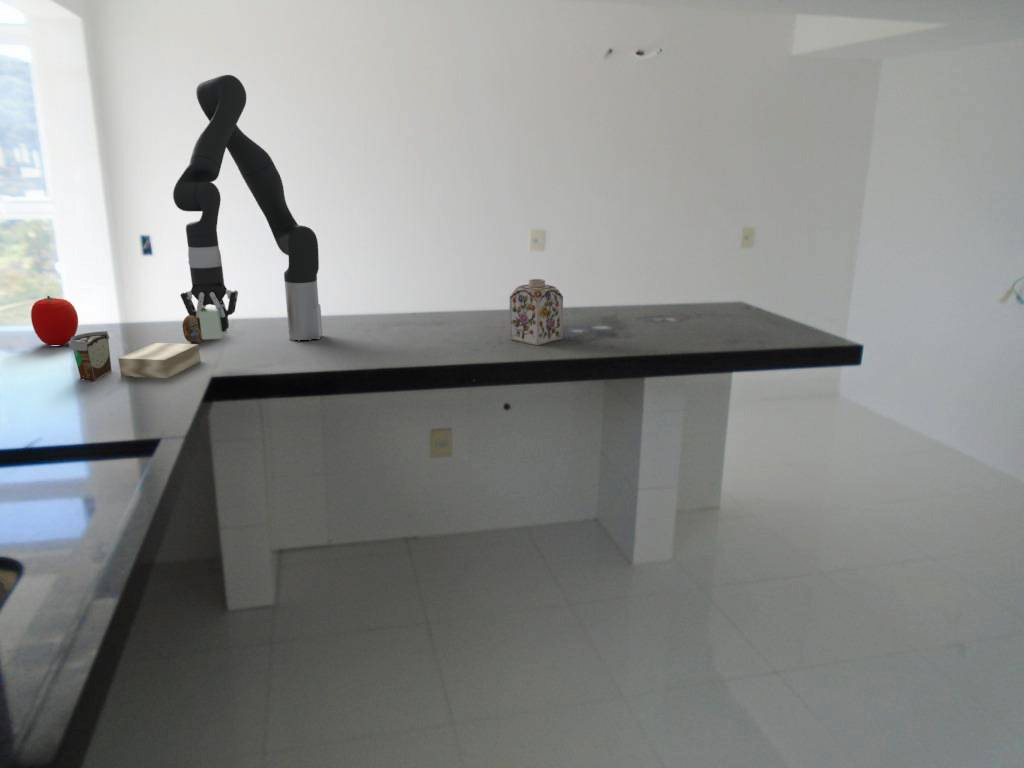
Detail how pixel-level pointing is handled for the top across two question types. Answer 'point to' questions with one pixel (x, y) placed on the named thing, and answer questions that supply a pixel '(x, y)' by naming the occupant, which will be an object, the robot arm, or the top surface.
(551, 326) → the decorative jar
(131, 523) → the top surface
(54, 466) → the top surface
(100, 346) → the food container
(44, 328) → the red apple
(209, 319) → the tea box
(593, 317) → the top surface
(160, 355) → the maple block
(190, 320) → the tin
